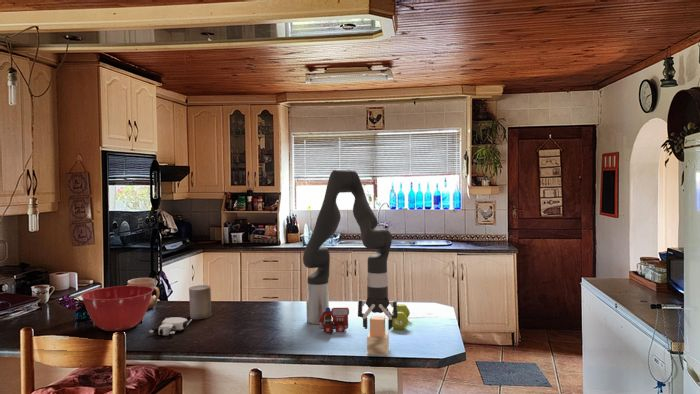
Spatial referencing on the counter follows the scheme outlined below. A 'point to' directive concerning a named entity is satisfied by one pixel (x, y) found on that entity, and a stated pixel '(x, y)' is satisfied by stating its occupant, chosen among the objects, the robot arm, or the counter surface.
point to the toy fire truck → (334, 320)
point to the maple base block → (378, 344)
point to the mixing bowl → (117, 306)
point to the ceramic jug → (148, 283)
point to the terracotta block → (377, 326)
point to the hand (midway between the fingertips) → (377, 328)
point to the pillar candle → (200, 302)
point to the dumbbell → (401, 317)
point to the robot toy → (170, 325)
